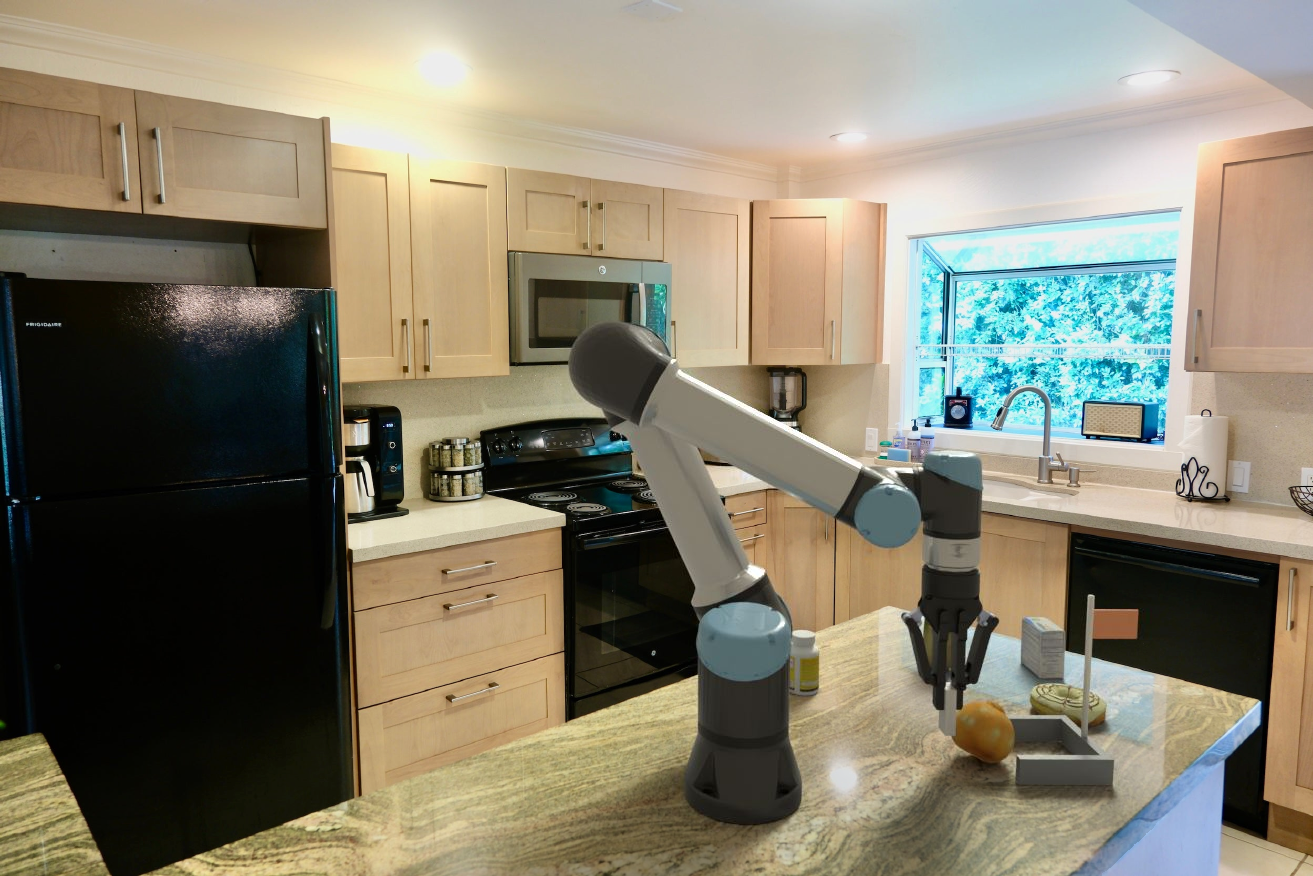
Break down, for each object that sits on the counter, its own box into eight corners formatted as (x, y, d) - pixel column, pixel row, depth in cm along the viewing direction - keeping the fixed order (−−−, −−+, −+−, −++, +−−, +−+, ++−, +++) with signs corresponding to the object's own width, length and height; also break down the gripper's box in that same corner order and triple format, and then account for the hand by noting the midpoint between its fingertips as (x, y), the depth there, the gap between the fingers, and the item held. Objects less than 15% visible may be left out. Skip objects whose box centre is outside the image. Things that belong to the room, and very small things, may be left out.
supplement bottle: (823, 688, 141) (824, 631, 140) (811, 699, 136) (812, 641, 135) (793, 681, 144) (794, 626, 143) (781, 692, 139) (781, 635, 138)
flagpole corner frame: (1019, 784, 109) (1026, 610, 107) (981, 737, 122) (987, 582, 120) (1157, 785, 109) (1168, 610, 106) (1104, 738, 122) (1112, 582, 120)
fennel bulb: (918, 663, 152) (920, 599, 151) (944, 661, 153) (946, 598, 151) (932, 675, 146) (934, 608, 145) (958, 673, 147) (961, 607, 146)
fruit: (987, 743, 121) (989, 690, 120) (1026, 770, 113) (1029, 713, 112) (938, 750, 118) (940, 696, 118) (974, 778, 111) (976, 721, 110)
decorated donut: (1100, 737, 123) (1101, 712, 123) (1023, 719, 129) (1024, 695, 129) (1109, 711, 132) (1110, 688, 131) (1036, 696, 138) (1037, 674, 137)
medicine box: (1064, 679, 144) (1066, 631, 143) (1038, 679, 144) (1040, 631, 143) (1044, 662, 152) (1046, 616, 151) (1019, 662, 152) (1021, 616, 151)
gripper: (910, 572, 109) (907, 744, 112) (1010, 571, 109) (1004, 743, 111) (895, 558, 117) (892, 719, 119) (988, 557, 117) (983, 719, 119)
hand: (947, 731), depth 115 cm, fingers closed
